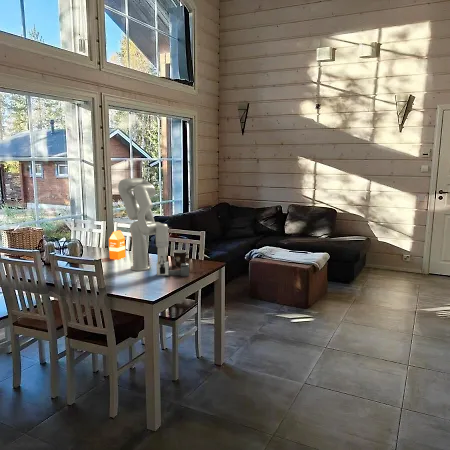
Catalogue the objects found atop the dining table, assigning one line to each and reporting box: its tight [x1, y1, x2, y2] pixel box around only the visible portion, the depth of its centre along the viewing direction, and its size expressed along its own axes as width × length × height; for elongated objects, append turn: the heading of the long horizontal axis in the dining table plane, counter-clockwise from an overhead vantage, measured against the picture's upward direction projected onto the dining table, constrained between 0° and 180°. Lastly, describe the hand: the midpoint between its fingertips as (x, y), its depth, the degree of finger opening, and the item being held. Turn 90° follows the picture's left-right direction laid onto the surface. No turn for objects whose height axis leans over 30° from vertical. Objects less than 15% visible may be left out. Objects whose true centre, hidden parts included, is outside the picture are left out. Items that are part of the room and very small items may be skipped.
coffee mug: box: [173, 249, 192, 268], centre depth 274 cm, size 12×9×10 cm
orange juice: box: [108, 229, 126, 261], centre depth 296 cm, size 8×9×20 cm
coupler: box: [165, 262, 190, 277], centre depth 254 cm, size 7×14×7 cm, turn 95°
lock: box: [156, 261, 170, 276], centre depth 253 cm, size 6×7×8 cm
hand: (162, 272), depth 253 cm, fingers closed on lock, 6 cm apart
